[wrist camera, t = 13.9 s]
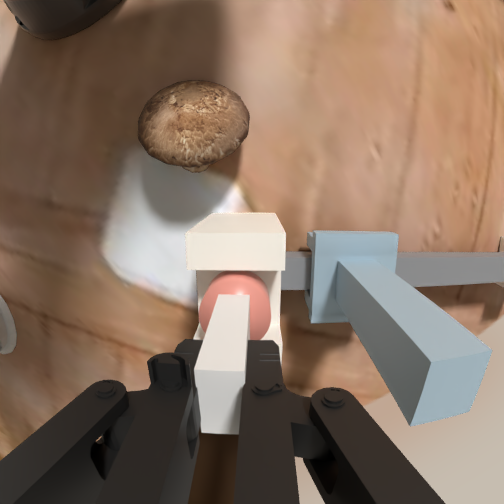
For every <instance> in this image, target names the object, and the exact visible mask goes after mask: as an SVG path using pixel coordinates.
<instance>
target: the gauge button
mask: <svg viewBox="0 0 504 504" xmlns="http://www.w3.org/2000/svg"><path fill="white" fill-rule="evenodd" d="M219 294H230V295H250V340H261V339H262V338H263V337H264V335H265V334H266V333H267V331H268V329H269V327H270V323H271V307H270V297H269V291H268V288H267V286H266V284H265V283H264V281H263V280H262V279H261V278H260V277H259V276H258V275H256V274H255V273H253V272H251V271H249V270H225V271H223V272H221V273H219V274H218V275H217V276H215V277H214V278H213V280H212V281H211V282H210V284H209V286H208V288H207V290H206V293H205V295H204V297H203V299H202V302H201V304H200V307H199V321H200V325H201V327H202V329H203V331H204V332H205V334H206V331H207V328H208V325H209V322H210V319H211V316H212V313H213V310H214V307H215V304H216V301H217V298H218V295H219Z"/></svg>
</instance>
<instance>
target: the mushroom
mask: <svg viewBox="0 0 504 504" xmlns="http://www.w3.org/2000/svg"><path fill="white" fill-rule="evenodd" d="M249 119H250V117H249V112H248V110H247V108H246V106H245V105H244V103H243V101H242V100H241V98H240V97H239V96H238V95H237V94H236V93H235V92H233V91H231V90H229V89H228V88H226V87H224V86H222V85H220V84H216V83H212V82H207V81H200V80H198V81H184V82H177V83H175V84H173V85H171V86H169V87H166V88H164V89H162V90H160V91H159V92H158V93H157V94H156V95H154V96H153V97H152V98H151V99H150V100H149V101H148V102H147V104H146V105H145V107H144V109H143V111H142V113H141V115H140V118H139V121H138V135H139V140H140V143H141V144H142V145H143V147H144V148H145V150H146V151H147V153H148V154H149V155H150V156H152V157H154V158H156V159H158V160H160V161H162V162H164V163H166V164H170V165H176V166H182V167H183V168H184V169H186V170H188V171H190V172H192V173H199V172H202V171H205V170H206V169H207V167H208V166H209V164H213V163H215V162H217V161H218V160H220V159H222V158H224V157H226V156H228V155H230V154H232V153H233V152H234V151H235V150H236V149H237V148H238V146H239V145H240V144H241V143H242V142H243V141H244V139H245V138H246V137H247V135H248V129H249Z"/></svg>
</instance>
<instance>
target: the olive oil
mask: <svg viewBox="0 0 504 504" xmlns="http://www.w3.org/2000/svg"><path fill="white" fill-rule="evenodd" d="M198 433H199V441H200V444H199V449H198V454H197V459H196V464H195V469H194V474H193V479H192V484H191V489H190V494H189V499H188V504H233V503H234V490H235V477H236V464H237V451H238V438H239V434H215V433H202V432H201V424H200V428H199V432H198Z"/></svg>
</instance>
